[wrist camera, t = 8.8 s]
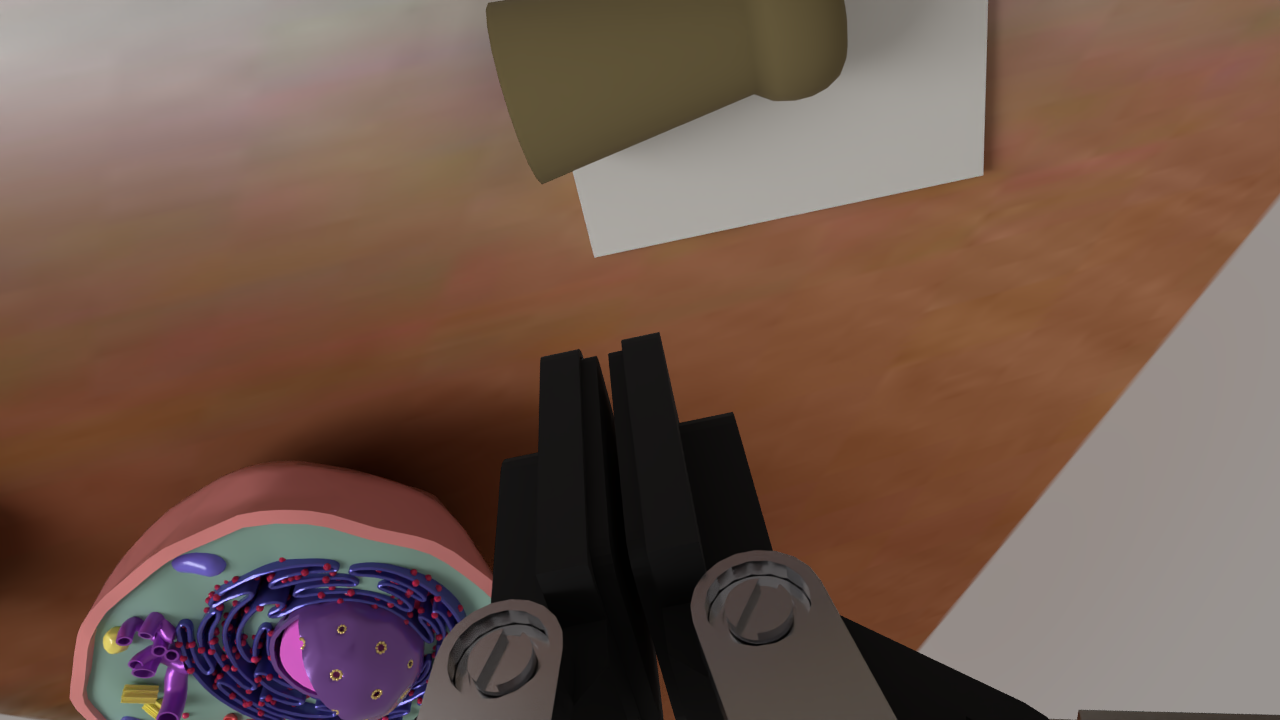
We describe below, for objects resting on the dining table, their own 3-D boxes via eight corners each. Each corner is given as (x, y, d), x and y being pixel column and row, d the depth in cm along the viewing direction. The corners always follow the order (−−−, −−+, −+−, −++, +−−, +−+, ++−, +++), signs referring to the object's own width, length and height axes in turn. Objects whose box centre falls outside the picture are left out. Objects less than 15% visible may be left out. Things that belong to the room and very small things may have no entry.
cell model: (49, 505, 41) (-99, 718, 32) (404, 327, 38) (354, 509, 28) (286, 693, 50) (224, 904, 41) (593, 564, 46) (602, 764, 37)
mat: (490, -161, 28) (489, -160, 28) (989, -278, 27) (996, -278, 27) (593, 252, 36) (594, 257, 36) (978, 170, 36) (983, 175, 35)
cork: (538, 204, 28) (877, 111, 27) (474, 8, 26) (846, -101, 25) (550, 162, 34) (833, 84, 33) (499, -2, 31) (803, -93, 30)
